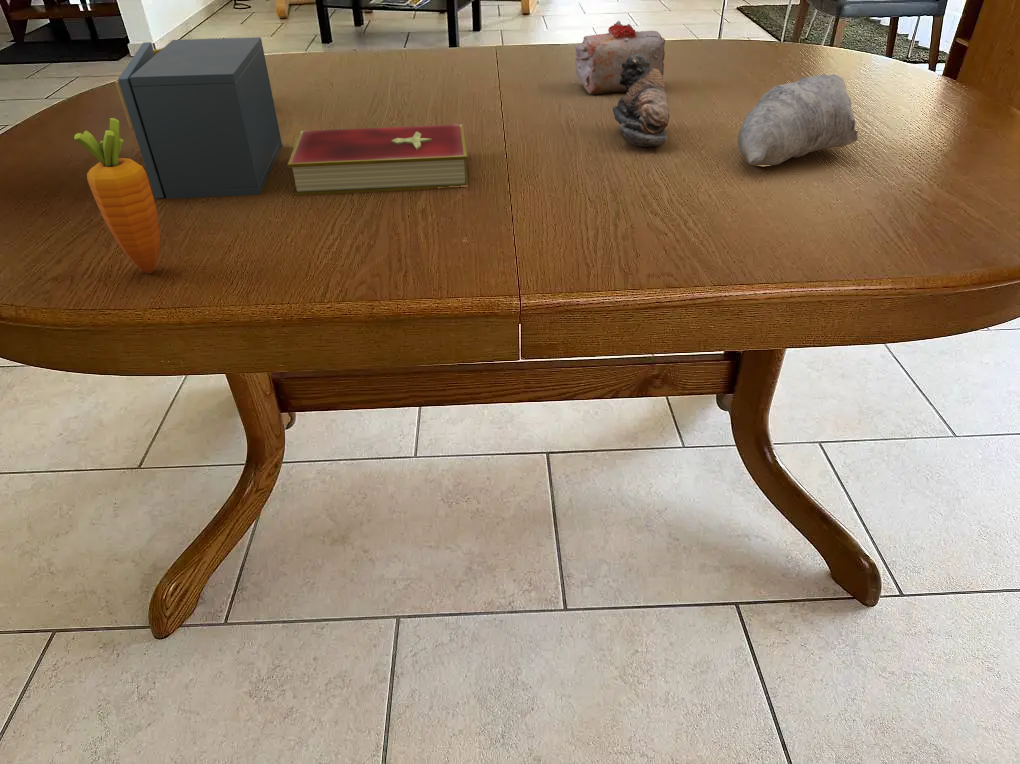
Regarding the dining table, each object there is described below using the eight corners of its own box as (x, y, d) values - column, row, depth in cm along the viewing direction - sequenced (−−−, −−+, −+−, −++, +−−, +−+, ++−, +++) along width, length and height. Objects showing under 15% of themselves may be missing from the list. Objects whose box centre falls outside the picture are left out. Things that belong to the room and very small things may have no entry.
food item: (584, 98, 119) (587, 31, 113) (571, 84, 125) (574, 20, 119) (665, 92, 121) (672, 26, 115) (648, 79, 127) (655, 16, 121)
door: (118, 202, 87) (76, 81, 79) (142, 152, 101) (107, 44, 92) (164, 198, 88) (127, 78, 80) (181, 148, 102) (151, 41, 93)
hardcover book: (306, 159, 98) (300, 127, 96) (464, 152, 100) (462, 121, 97) (293, 196, 89) (287, 162, 86) (468, 187, 90) (467, 154, 88)
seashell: (742, 181, 91) (758, 98, 85) (717, 140, 103) (729, 64, 97) (873, 180, 91) (898, 97, 85) (833, 139, 103) (853, 63, 97)
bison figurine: (676, 151, 99) (686, 73, 93) (625, 155, 99) (632, 76, 92) (649, 123, 109) (657, 50, 103) (602, 125, 108) (607, 52, 102)
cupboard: (166, 199, 88) (128, 77, 80) (201, 149, 102) (172, 39, 93) (260, 195, 89) (232, 73, 81) (282, 145, 103) (261, 37, 94)
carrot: (123, 290, 71) (65, 135, 62) (124, 267, 75) (69, 117, 66) (177, 280, 73) (128, 127, 64) (175, 258, 77) (129, 110, 67)
